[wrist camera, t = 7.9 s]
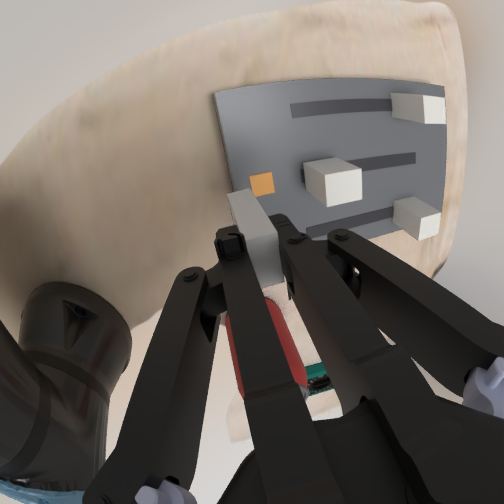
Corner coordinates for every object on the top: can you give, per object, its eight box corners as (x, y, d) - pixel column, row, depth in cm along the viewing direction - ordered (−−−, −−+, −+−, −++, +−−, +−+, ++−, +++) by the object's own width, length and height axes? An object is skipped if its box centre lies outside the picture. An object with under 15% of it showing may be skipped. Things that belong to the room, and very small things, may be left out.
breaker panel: (248, 258, 28) (264, 301, 22) (212, 94, 19) (219, 87, 13) (428, 209, 30) (465, 233, 24) (429, 84, 21) (474, 90, 15)
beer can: (221, 299, 30) (240, 393, 19) (280, 290, 31) (319, 375, 20) (227, 339, 33) (245, 424, 23) (278, 330, 34) (309, 409, 24)
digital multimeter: (350, 371, 45) (356, 383, 42) (273, 393, 43) (277, 407, 40) (357, 347, 41) (365, 359, 39) (272, 371, 39) (276, 386, 37)
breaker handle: (306, 190, 22) (327, 207, 19) (303, 162, 21) (324, 175, 17) (337, 183, 22) (362, 199, 19) (335, 157, 21) (361, 168, 18)
